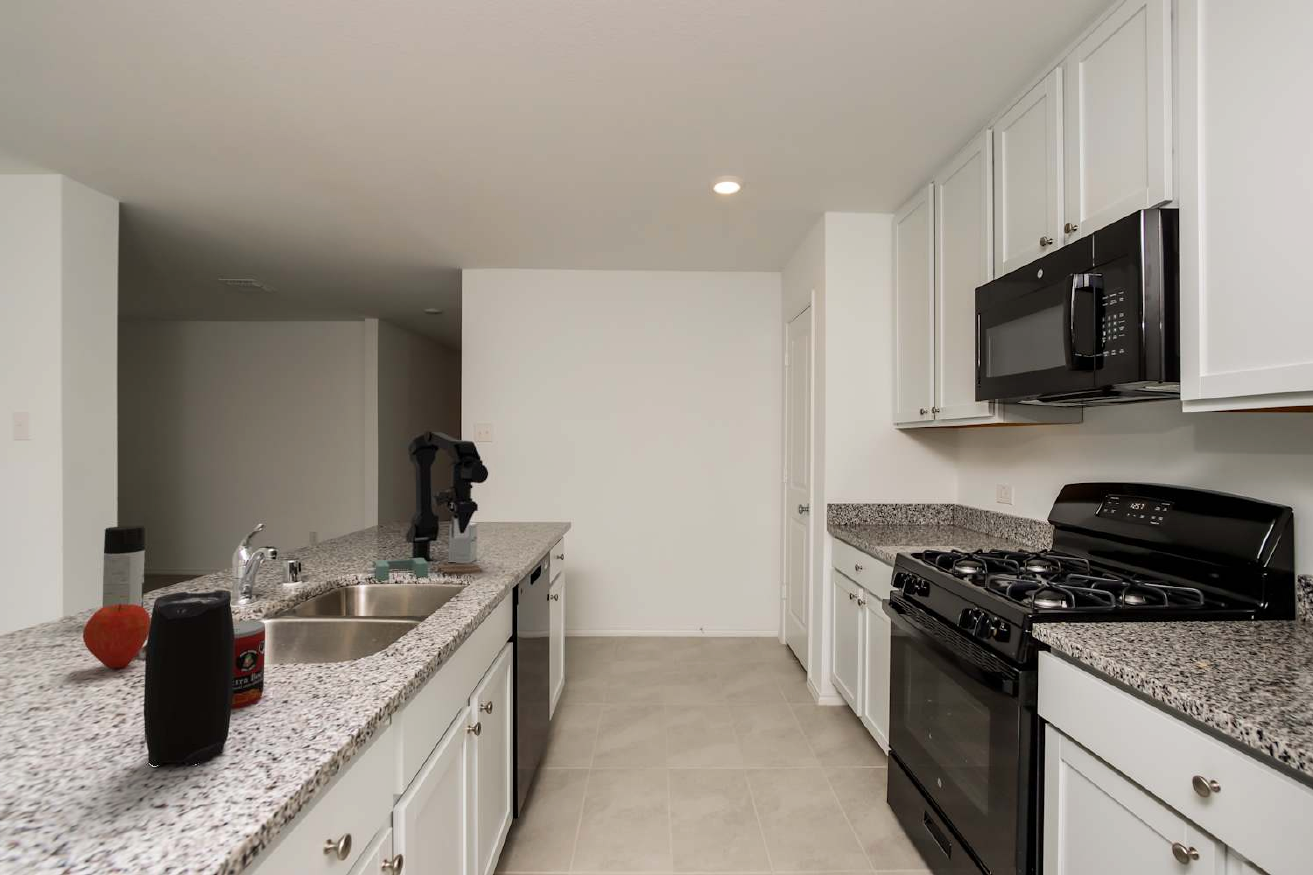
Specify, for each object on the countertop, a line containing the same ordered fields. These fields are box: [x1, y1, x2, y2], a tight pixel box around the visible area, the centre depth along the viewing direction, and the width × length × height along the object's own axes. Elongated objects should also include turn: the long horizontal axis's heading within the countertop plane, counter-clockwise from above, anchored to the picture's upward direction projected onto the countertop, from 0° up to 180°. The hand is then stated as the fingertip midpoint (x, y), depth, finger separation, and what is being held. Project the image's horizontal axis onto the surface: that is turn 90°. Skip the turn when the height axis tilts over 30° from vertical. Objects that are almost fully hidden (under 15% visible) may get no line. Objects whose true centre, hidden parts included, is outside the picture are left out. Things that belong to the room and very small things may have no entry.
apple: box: [82, 604, 151, 669], centre depth 106 cm, size 9×8×11 cm
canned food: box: [231, 619, 266, 711], centre depth 94 cm, size 8×8×11 cm
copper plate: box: [437, 562, 483, 576], centre depth 193 cm, size 11×11×1 cm
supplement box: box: [448, 522, 478, 564], centre depth 208 cm, size 7×7×13 cm
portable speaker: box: [143, 589, 235, 766], centre depth 78 cm, size 9×9×20 cm
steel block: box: [451, 516, 471, 539], centre depth 193 cm, size 4×4×6 cm
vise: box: [365, 558, 429, 582], centre depth 186 cm, size 15×16×4 cm
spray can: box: [102, 525, 146, 608], centre depth 133 cm, size 7×7×20 cm
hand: (460, 532), depth 193 cm, fingers closed on steel block, 4 cm apart
